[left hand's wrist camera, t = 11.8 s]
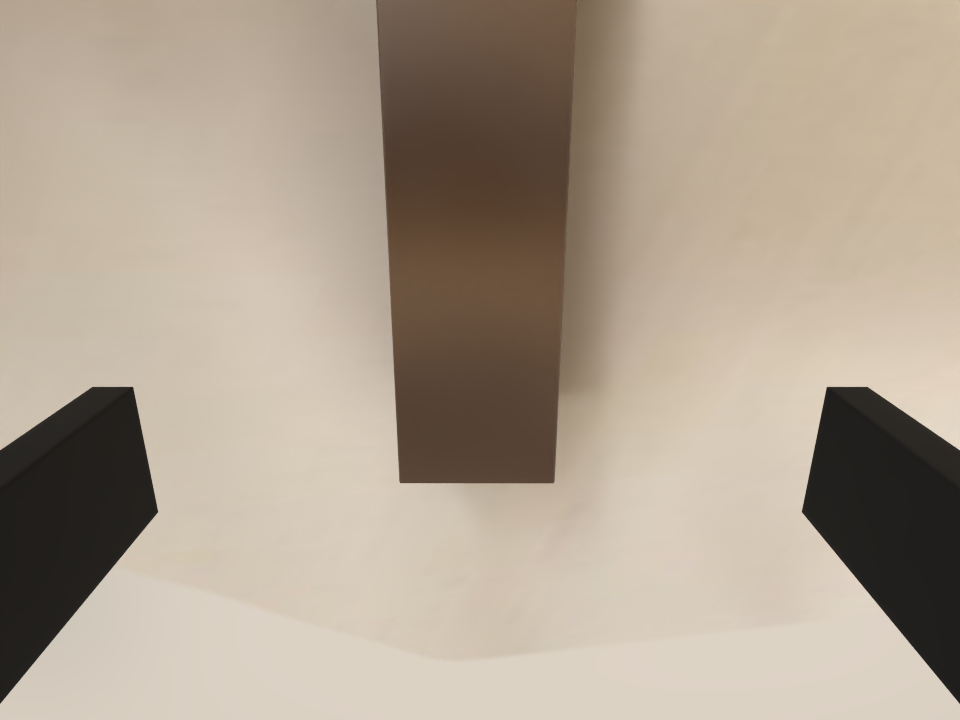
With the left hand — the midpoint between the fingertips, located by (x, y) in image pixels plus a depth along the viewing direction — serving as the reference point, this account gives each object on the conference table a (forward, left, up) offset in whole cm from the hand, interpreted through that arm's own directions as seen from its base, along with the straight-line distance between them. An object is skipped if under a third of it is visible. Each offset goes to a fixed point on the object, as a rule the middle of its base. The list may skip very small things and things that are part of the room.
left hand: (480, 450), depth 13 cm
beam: (+17, +30, -17) cm, 39 cm away
